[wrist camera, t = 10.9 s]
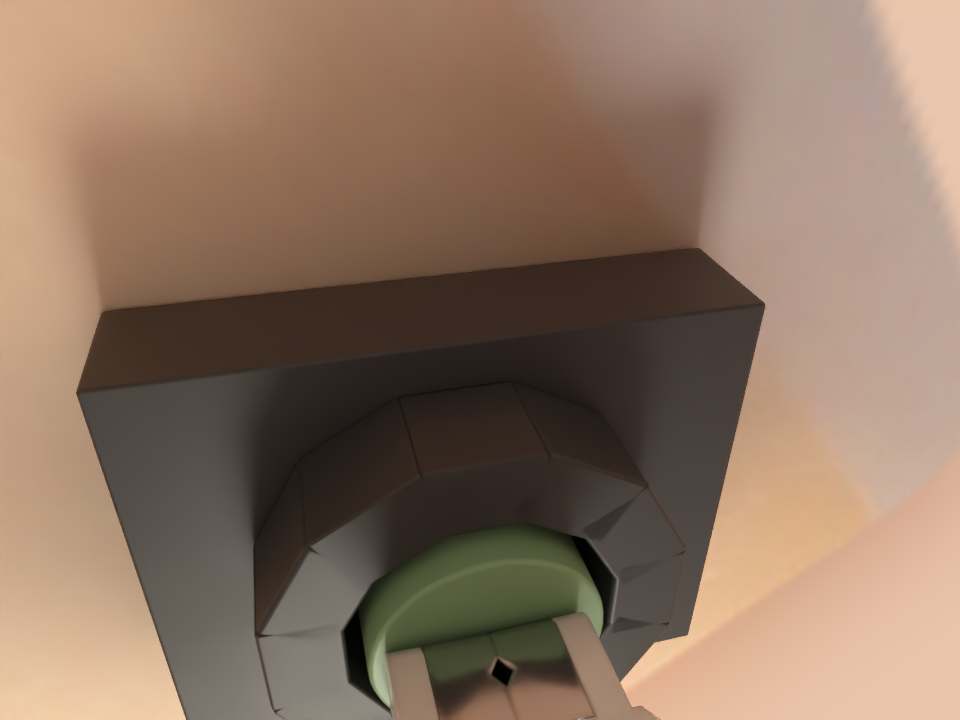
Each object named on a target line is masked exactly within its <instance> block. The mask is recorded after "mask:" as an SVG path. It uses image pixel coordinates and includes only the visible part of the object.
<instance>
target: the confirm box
mask: <svg viewBox="0 0 960 720" xmlns="http://www.w3.org/2000/svg"><path fill="white" fill-rule="evenodd" d="M764 309H765V303H764V302H763V301H761V300H760V299H759V298H758V297H757V296H755V295H754V294H753V293H752V292H751V291H750V290H748V289H747V288H746V287H745V286H744V285H742V284H741V283H740V282H739V281H738V280H736V279H735V278H734V277H733V276H732V275H730V274H729V273H728V272H727V271H726V270H725V269H723V268H722V267H721V266H720V265H719V264H717V263H716V262H715V261H714V260H713V259H711V258H710V257H709V256H708V255H707V254H706V253H704V252H703V251H702V250H701V249H699V248H693V249H684V250H675V251H666V252H656V253H647V254H638V255H629V256H619V257H610V258H601V259H592V260H582V261H573V262H564V263H554V264H545V265H536V266H527V267H517V268H508V269H499V270H490V271H480V272H471V273H462V274H453V275H443V276H434V277H425V278H416V279H406V280H397V281H388V282H379V283H369V284H360V285H351V286H342V287H332V288H323V289H314V290H304V291H295V292H286V293H277V294H267V295H258V296H249V297H240V298H230V299H221V300H212V301H203V302H193V303H184V304H175V305H166V306H156V307H147V308H138V309H129V310H119V311H110V312H103V313H101V316H100V319H99V322H98V325H97V328H96V332H95V335H94V338H93V341H92V344H91V347H90V351H89V354H88V357H87V360H86V363H85V366H84V369H83V373H82V376H81V379H80V382H79V385H78V388H77V392H76V394H77V397H78V400H79V403H80V406H81V409H82V412H83V415H84V418H85V421H86V424H87V427H88V430H89V433H90V435H91V438H92V441H93V444H94V447H95V450H96V453H97V456H98V459H99V462H100V465H101V468H102V471H103V474H104V477H105V480H106V483H107V486H108V489H109V492H110V495H111V498H112V501H113V504H114V507H115V510H116V513H117V516H118V519H119V522H120V524H121V527H122V530H123V533H124V536H125V539H126V542H127V545H128V548H129V551H130V554H131V557H132V560H133V563H134V566H135V569H136V572H137V575H138V578H139V581H140V584H141V587H142V590H143V593H144V596H145V599H146V602H147V605H148V608H149V611H150V613H151V616H152V619H153V622H154V625H155V628H156V631H157V634H158V637H159V640H160V643H161V646H162V649H163V652H164V655H165V658H166V661H167V664H168V667H169V670H170V673H171V676H172V679H173V682H174V685H175V688H176V691H177V694H178V697H179V700H180V703H181V705H182V708H183V711H184V714H185V717H186V720H392V718H391V710H390V708H389V707H388V706H387V705H386V704H385V703H383V702H382V700H381V699H380V698H379V696H378V695H377V694H376V692H375V691H374V689H373V687H372V685H371V683H370V680H369V675H368V670H367V664H366V657H365V651H364V644H363V638H362V631H361V625H360V618H359V612H358V608H359V606H360V604H361V603H362V601H363V600H364V598H365V597H366V595H367V593H368V592H369V590H370V589H371V587H372V586H373V584H374V582H375V581H376V580H378V579H379V578H381V577H383V576H384V575H386V574H388V573H389V572H391V571H392V570H394V569H396V568H397V567H399V566H401V565H402V564H404V563H406V562H407V561H409V560H410V559H412V558H414V557H415V556H417V555H419V554H420V553H422V552H423V551H425V550H427V549H428V548H430V547H432V546H433V545H435V544H437V543H438V542H440V541H441V540H443V539H445V538H446V537H448V536H453V535H458V534H464V533H469V532H475V531H480V530H486V529H491V528H497V527H502V526H508V525H513V524H519V523H527V524H531V525H535V526H538V527H542V528H546V529H550V530H554V531H557V532H561V533H565V534H569V535H571V537H572V539H573V541H574V543H575V545H576V547H577V549H578V551H579V553H580V555H581V557H582V559H583V561H584V563H585V565H586V567H587V569H588V572H589V574H590V576H591V578H592V580H593V582H594V584H595V586H596V588H597V590H598V592H599V595H600V597H601V600H602V605H603V626H602V630H601V634H600V637H599V639H600V641H601V643H602V645H603V647H604V649H605V652H606V654H607V656H608V658H609V660H610V662H611V664H612V666H613V668H614V671H615V673H616V675H617V677H618V679H619V681H620V682H621V680H622V679H623V678H624V677H625V676H626V675H627V673H628V672H629V671H630V670H631V669H632V668H633V667H634V665H635V664H636V663H637V662H638V661H639V660H640V658H641V657H642V656H643V655H644V654H645V653H646V651H647V650H648V649H649V648H650V647H651V646H652V645H653V643H655V642H659V641H664V640H668V639H672V638H677V637H681V636H686V635H687V634H688V632H689V627H690V623H691V619H692V615H693V610H694V606H695V602H696V598H697V593H698V589H699V585H700V581H701V577H702V572H703V568H704V564H705V560H706V555H707V551H708V547H709V543H710V538H711V534H712V530H713V526H714V521H715V517H716V513H717V509H718V504H719V500H720V496H721V492H722V487H723V483H724V479H725V475H726V470H727V466H728V462H729V458H730V454H731V449H732V445H733V441H734V437H735V432H736V428H737V424H738V420H739V415H740V411H741V407H742V403H743V398H744V394H745V390H746V386H747V381H748V377H749V373H750V369H751V364H752V360H753V356H754V352H755V348H756V343H757V339H758V335H759V331H760V326H761V322H762V318H763V314H764Z"/></svg>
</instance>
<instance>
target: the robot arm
mask: <svg viewBox="0 0 960 720" xmlns="http://www.w3.org/2000/svg"><path fill="white" fill-rule="evenodd" d="M385 658H386V669H387V680H388V692H389V702H390V710H391V718H392V720H660V719H659V718H658V717H656V716H655V715H654V714H652V713H651V712H649V711H648V710H647V709H645V708H644V707H642V706H638V707H633V708H632V707H631V704H630V702H629V700H628V698H627V696H626V694H625V692H624V690H623V688H622V685H621V683H620V681H619V679H618V677H617V675H616V673H615V671H614V668H613V666H612V664H611V662H610V660H609V658H608V656H607V654H606V652H605V649H604V647H603V645H602V643H601V641H600V639H599V637H598V635H597V633H596V630H595V628H594V626H593V624H592V622H591V620H590V618H589V616H587V615H586V614H585V613H584V612H577V613H573V614H569V615H564V616H560V617H556V618H552V619H550V618H546V619H542V620H538V621H533V622H529V623H525V624H520V625H516V626H512V627H507V628H503V629H499V630H495V631H490V632H487V633H486V634H482V635H477V636H472V637H467V638H461V639H456V640H451V641H446V642H441V643H436V644H431V645H425V646H422V647H420V646H419V647H414V648H410V649H405V650H400V651H396V652H391V653H386V655H385Z"/></svg>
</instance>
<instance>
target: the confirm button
mask: <svg viewBox="0 0 960 720" xmlns="http://www.w3.org/2000/svg"><path fill="white" fill-rule="evenodd" d="M358 612H359V618H360V625H361V631H362V638H363V644H364V651H365V657H366V664H367V670H368V675H369V680H370V683H371V685H372V687H373V689H374V691H375V692H376V694H377V695H378V696H379V698H380V699H381V700H382V702H383V703H385V704H386V705H387V706H388V707H389V708H390V702H389V692H388V680H387V669H386V658H385V655H386V653H391V652H396V651H400V650H405V649H410V648H414V647H419V646H420V647H422V646H425V645H431V644H436V643H441V642H446V641H451V640H456V639H461V638H467V637H472V636H477V635H482V634H486V633H487V632H490V631H495V630H499V629H503V628H507V627H512V626H516V625H520V624H525V623H529V622H533V621H538V620H542V619H546V618H550V619H552V618H556V617H560V616H564V615H569V614H573V613H577V612H584V613H585V614H586V615H587V616H589V618H590V620H591V622H592V624H593V626H594V628H595V630H596V633H597V635H598V637H600V634H601V630H602V626H603V605H602V600H601V597H600V595H599V592H598V590H597V588H596V586H595V584H594V582H593V580H592V578H591V576H590V574H589V572H588V569H587V567H586V565H585V563H584V561H583V559H582V557H581V555H580V553H579V551H578V549H577V547H576V545H575V543H574V541H573V539H572V537H571V535H569V534H565V533H561V532H557V531H554V530H550V529H546V528H542V527H538V526H535V525H531V524H527V523H519V524H513V525H508V526H502V527H497V528H491V529H486V530H480V531H475V532H469V533H464V534H458V535H453V536H448V537H446V538H445V539H443V540H441V541H440V542H438V543H437V544H435V545H433V546H432V547H430V548H428V549H427V550H425V551H423V552H422V553H420V554H419V555H417V556H415V557H414V558H412V559H410V560H409V561H407V562H406V563H404V564H402V565H401V566H399V567H397V568H396V569H394V570H392V571H391V572H389V573H388V574H386V575H384V576H383V577H381V578H379V579H378V580H376V581H375V582H374V584H373V586H372V587H371V589H370V590H369V592H368V593H367V595H366V597H365V598H364V600H363V601H362V603H361V604H360V606H359V608H358Z"/></svg>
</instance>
